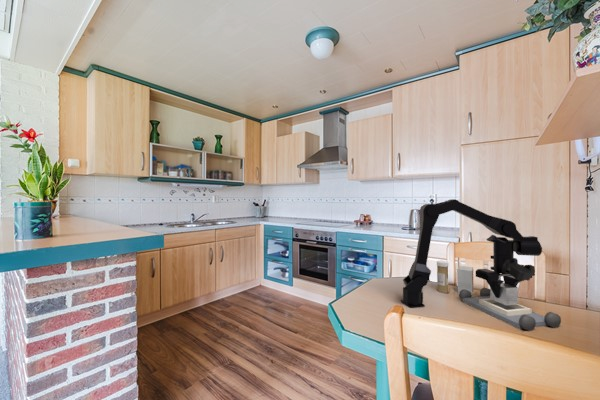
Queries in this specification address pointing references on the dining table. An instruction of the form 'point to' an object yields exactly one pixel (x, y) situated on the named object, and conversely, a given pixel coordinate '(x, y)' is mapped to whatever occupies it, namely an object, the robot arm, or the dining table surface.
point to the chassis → (509, 311)
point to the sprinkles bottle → (442, 276)
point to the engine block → (506, 294)
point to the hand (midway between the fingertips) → (503, 297)
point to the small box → (465, 278)
